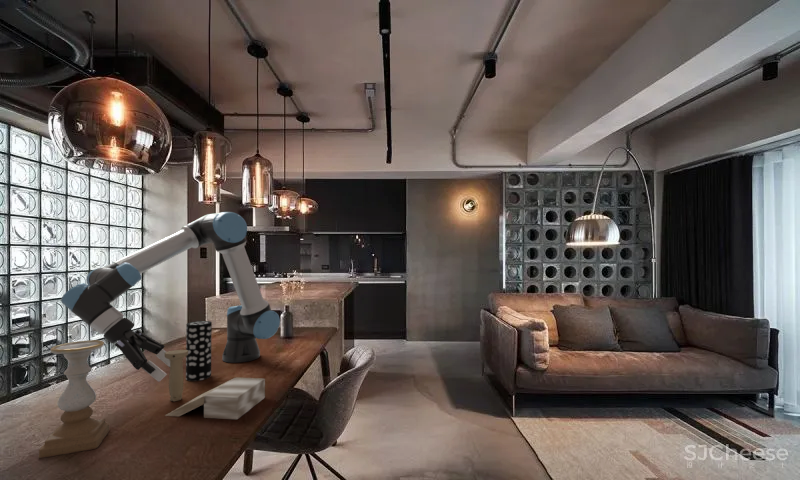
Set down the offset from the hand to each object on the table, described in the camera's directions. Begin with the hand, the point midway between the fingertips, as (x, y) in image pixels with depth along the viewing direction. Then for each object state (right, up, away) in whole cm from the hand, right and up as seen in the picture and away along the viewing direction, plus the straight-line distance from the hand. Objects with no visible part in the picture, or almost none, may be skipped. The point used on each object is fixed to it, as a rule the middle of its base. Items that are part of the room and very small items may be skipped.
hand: (169, 371), depth 121 cm
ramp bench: (+17, -11, -4) cm, 21 cm away
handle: (+2, -9, +1) cm, 10 cm away
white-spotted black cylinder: (-3, -10, +23) cm, 25 cm away
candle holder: (-7, -9, -26) cm, 29 cm away
